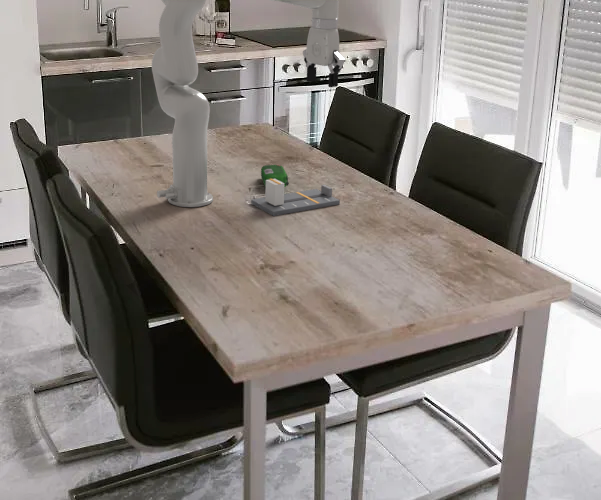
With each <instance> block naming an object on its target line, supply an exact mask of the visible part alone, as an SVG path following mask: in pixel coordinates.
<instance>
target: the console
mask: <svg viewBox="0 0 601 500" xmlns="http://www.w3.org/2000/svg"><path fill="white" fill-rule="evenodd" d="M320 188H321V189H320V190H319V189H318V188H314V189H306V190H302V191H295V192H294V191H293V192H289V193H284V204H282V205H276V206H274V205H272V204H270V203H269V202H267V201H265V197H264V196H263V197H258V198H254V199H253V198H252V199H250V201H251V202H250V203H251V205H252V206H253V205H254V207H257V208H258V209H260V210H262V211H264V212H266V213H268V214H269V215H271V216H272V217H275V216H280V215H286V214H287V215H288V214H292V213H293V214H294V213H298V212H299V213H300V212H304V211H311V210H315V209H322V208H326V207H333V206H337V205H340V204H341V199H338V198H336V197H334V196H333V188H332V187H331V186H328V185H326V184H321V187H320Z"/></svg>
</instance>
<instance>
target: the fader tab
mask: <svg viewBox="0 0 601 500" xmlns="http://www.w3.org/2000/svg"><path fill="white" fill-rule="evenodd" d="M284 194H285V187H284V183H283V182H281V181H279V180H277V179H269V180H266V187H265V194H264V196H265V201H267V202H269V203H270V204H272V205H274V206H276V205H282V204H284Z"/></svg>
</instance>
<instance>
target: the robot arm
mask: <svg viewBox="0 0 601 500" xmlns="http://www.w3.org/2000/svg"><path fill="white" fill-rule="evenodd" d="M161 1H162V4H163V5H165V6H164V9H163V11H162V13H161V14H160V18H159V23H158V33H159V40H160V42H159V43H160V47H158V48H157V49H156V50H155V51H154V54H153V56H152V58H151V73H152V76H153V83H154V86H155V90H156V91H155V92H156V96H157V100H158V103H159V106H160V108H161V110H162V112H163V113H165V114H166V115H167V116H169V117H170V118H173V119H174V126H173V129H172V137H171V138H172V140H171V145H172V146H171V148H172V184H170V185H169V187H168V188H167V189H161V190H160V189H159V190H157V191H156V195H157V198H158V199H159V198H165V199H167V202H169V204H171V205H174V206H177V207H181V208H182V207H183V208H197V207H204V206H207V205H210V204H211V203H212V202H213V200H214V197H213V196H214V195H212V194H211V193H210V192H208V128H209V121H210V113H211V107H210V103H209V100H208V98H207V97H206V96H205V94H203V93H202V92H200V91H198V89H195V88H192V87H191V86H190V85H192V84H193V83H194V82H195V81H196V80H197V78H198V74H199V64H198V59H197V55H196V50H195V44H194V39H193V23H194V20H196V19H195V18H196V17H197V16H198V14H199V12H201V10H202V9H203V7H204V6H205V4H206V1H207V0H161ZM270 1H273V2H281V3H285V4H288V5H289V4H290V5H293V6H297V7H300V8H306V9H310V10H311V19H310V21H311V26H310V27H309V30H308V34H307V41H306V48H305V49H304V50H303V51H302V56H303V60H304V62H305V67H306V82H309V83H310V82H315V81H316V80H317V67H316V66H322V67H327V68H328V70H329V73H328V80H327V83H328V84H327V85H328V87H329V88H336V87H338V86H339V74H340V73H341V70H342V69H343V67H344V64H345V61H346V60H345V58H344V57H343V56H342V54H340V35H339V30H338V27H339V26H338V25H339V6H340V5H339V4H340V0H270Z"/></svg>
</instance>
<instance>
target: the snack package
mask: <svg viewBox="0 0 601 500" xmlns="http://www.w3.org/2000/svg"><path fill="white" fill-rule="evenodd" d="M260 176H261V179H262V182H263V185H264V186H265V188H266V180H269V179H277V180H279V181H281V182H283V183H284V188H286V187H288V186H289V184H290V182H289V180H288V179H289V176H288V174H287V172H286V170H285V169H284V167H283V166H282V165H280V164H266V165H263V166H262V167H261V170H260Z"/></svg>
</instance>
